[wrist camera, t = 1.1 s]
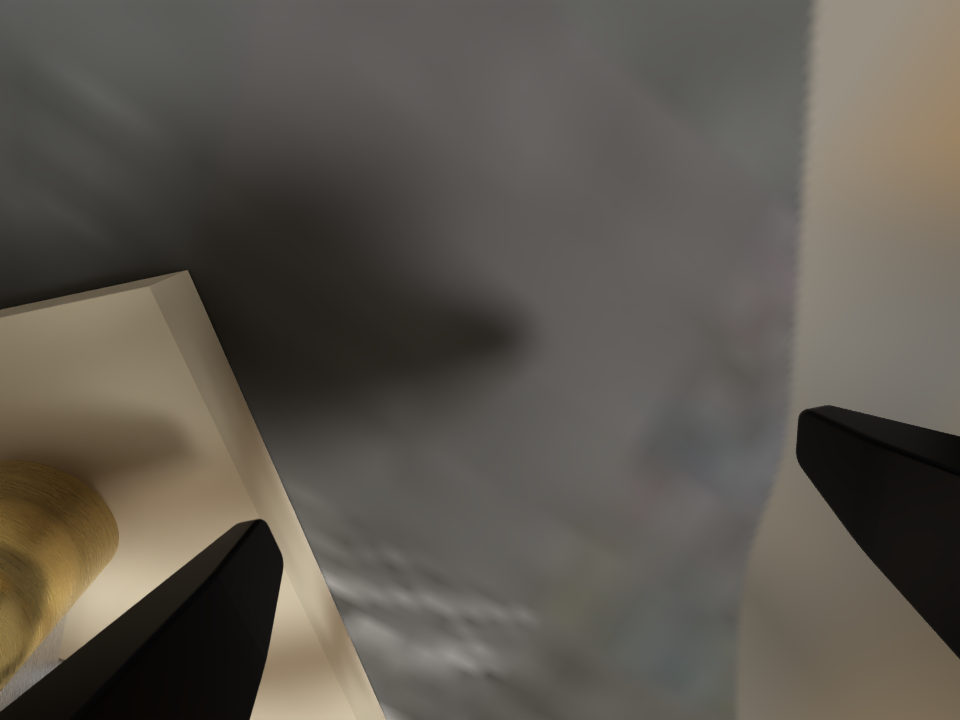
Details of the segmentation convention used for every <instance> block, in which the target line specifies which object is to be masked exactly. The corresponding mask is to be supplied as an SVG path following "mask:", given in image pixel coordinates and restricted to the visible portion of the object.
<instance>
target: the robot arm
mask: <svg viewBox="0 0 960 720" xmlns="http://www.w3.org/2000/svg"><path fill="white" fill-rule="evenodd" d="M796 455H797V459H798V462H799V464H800V466H801V468H802V469H803V471H804V472H805V473H806V475H807V476H808V478H809V479H810V480H811V481H812V483H813V484H814V486H815V487H816V488H817V490H818V491H819V492H820V494H821V495H822V497H823V498H824V499H825V501H826V502H827V503H828V505H829V506H830V507H831V509H832V510H833V511H834V513H835V514H836V515H837V517H838V518H839V520H840V521H841V522H842V524H843V525H844V527H845V528H846V529H847V531H848V532H849V533H850V535H851V536H852V537H853V538H854V540H855V541H856V542H857V544H858V545H859V546H860V547H861V549H862V550H863V551H864V552H865V553H866V554H867V556H868V557H869V558H870V559H871V560H872V561H873V563H874V564H875V565H876V566H877V567H878V568H879V569H880V570H881V571H882V573H883V574H884V575H885V576H886V577H887V578H888V579H889V580H890V581H891V583H892V584H893V585H894V586H895V587H896V588H897V589H898V590H899V591H900V593H901V594H902V595H903V596H904V597H905V598H906V600H907V601H908V602H909V603H910V604H911V605H912V606H913V607H914V608H915V610H916V611H917V612H918V613H919V614H920V615H921V616H922V617H923V619H924V620H925V621H926V622H927V623H928V624H929V625H930V626H931V627H932V629H933V630H934V631H935V632H936V633H937V634H938V635H939V636H940V638H941V639H942V640H943V641H944V642H945V643H946V644H947V645H948V646H949V648H950V649H951V650H952V651H953V652H954V653H955V654H956V656H957V657H958V658H959V659H960V436H956V435H952V434H948V433H944V432H939V431H935V430H931V429H927V428H923V427H919V426H914V425H910V424H906V423H902V422H898V421H894V420H889V419H885V418H881V417H877V416H873V415H869V414H864V413H860V412H856V411H852V410H848V409H843V408H840V407H835V406H830V405H826V406H820V407H815V408H811V409H806V410H804V411H802V412H801V413H800V415H799V418H798V431H797V444H796ZM283 568H284V562H283V556H282V553H281V551H280V549H279V547H278V545H277V542H276V540H275V538H274V536H273V534H272V532H271V530H270V528H269V526H268V524H267V522H266V521H264V520H263V519H255V520H250V521H244V522H240V523H237V524H236V525H234V526H233V527H232V528H230V529H229V530H228V531H227V532H225V533H224V534H223V535H222V536H220V537H219V538H218V539H216V540H215V541H214V542H213V543H211V544H210V545H209V546H208V547H206V548H205V549H204V550H203V551H201V552H200V553H199V554H198V555H196V556H195V557H194V558H193V559H191V560H190V561H189V562H188V563H186V564H185V565H184V566H183V567H181V568H180V569H179V570H178V571H176V572H175V573H174V574H172V575H171V576H170V577H169V578H167V579H166V580H165V581H164V582H162V583H161V584H160V585H159V586H157V587H156V588H155V589H154V590H152V591H151V592H150V593H149V594H147V595H146V596H145V597H144V598H142V599H141V600H140V601H139V602H137V603H136V604H135V605H133V606H132V607H131V608H130V609H128V610H127V611H126V612H125V613H123V614H122V615H121V616H120V617H118V618H117V619H116V620H115V621H113V622H112V623H111V624H110V625H108V626H107V627H106V628H105V629H103V630H102V631H101V632H100V633H98V634H97V635H96V636H95V637H93V638H92V639H91V640H89V641H88V642H87V643H86V644H84V645H83V646H82V647H81V648H79V649H78V650H77V651H76V652H74V653H73V654H72V655H71V656H69V657H68V658H67V659H66V660H64V661H63V662H62V663H61V664H59V665H58V666H57V667H56V668H54V669H53V670H52V671H50V672H49V673H48V674H47V675H45V676H44V677H43V678H42V679H40V680H39V681H38V682H37V683H35V684H34V685H33V686H32V687H30V688H29V689H28V690H27V691H25V692H24V693H23V694H22V695H20V696H19V697H18V698H17V699H15V700H14V701H13V702H12V703H10V704H9V705H8V706H6V707H5V708H4V709H3V710H1V711H0V720H250V717H251V714H252V710H253V707H254V703H255V700H256V696H257V693H258V689H259V686H260V683H261V679H262V675H263V671H264V668H265V664H266V660H267V655H268V650H269V646H270V640H271V635H272V629H273V624H274V618H275V613H276V607H277V602H278V596H279V591H280V585H281V580H282V574H283Z"/></svg>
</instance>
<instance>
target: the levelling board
mask: <svg viewBox="0 0 960 720" xmlns="http://www.w3.org/2000/svg"><path fill="white" fill-rule="evenodd" d="M2 460H22V461H30V462H35V463H40V464H44V465H47V466H50V467H53V468H56V469H59V470H61V471H63V472H66V473H68V474H70V475H71V476H73V477H75V478H77V479H79V480H80V481H81V482H83V483H84V484H86V485H87V486H89V487H90V488H91V489H92V490H93V491H95V492H96V493H97V494H98V495H99V496H100V497H101V498H102V499H103V501H104V502H105V503H106V504H107V506H108V507H109V509H110V510H111V512H112V514H113V515H114V518H115V520H116V522H117V526H118V530H119V544H118V548H117V551H116V553H115V555H114V557H113V559H112V560H111V561H110V562H109V564H108V565H107V566H106V567H105V568H104V570H103V571H102V572H101V573H100V574H99V575H98V577H97V578H96V579H95V580H94V581H93V583H92V584H91V585H90V586H89V587H88V589H87V590H86V591H85V592H84V593H83V594H82V596H81V597H80V598H79V599H78V600H77V602H76V603H75V604H74V605H73V606H72V607H71V609H70V610H69V611H68V612H67V616H66V621H65V627H64V633H63V638H62V644H61V650H60V655H59V661H58V665H59V664H61V663H62V662H63V661H64V660H66V659H67V658H68V657H69V656H71V655H72V654H73V653H74V652H76V651H77V650H78V649H79V648H81V647H82V646H83V645H84V644H86V643H87V642H88V641H89V640H91V639H92V638H93V637H95V636H96V635H97V634H98V633H100V632H101V631H102V630H103V629H105V628H106V627H107V626H108V625H110V624H111V623H112V622H113V621H115V620H116V619H117V618H118V617H120V616H121V615H122V614H123V613H125V612H126V611H127V610H128V609H130V608H131V607H132V606H133V605H135V604H136V603H137V602H139V601H140V600H141V599H142V598H144V597H145V596H146V595H147V594H149V593H150V592H151V591H152V590H154V589H155V588H156V587H157V586H159V585H160V584H161V583H162V582H164V581H165V580H166V579H167V578H169V577H170V576H171V575H172V574H174V573H175V572H176V571H178V570H179V569H180V568H181V567H183V566H184V565H185V564H186V563H188V562H189V561H190V560H191V559H193V558H194V557H195V556H196V555H198V554H199V553H200V552H201V551H203V550H204V549H205V548H206V547H208V546H209V545H210V544H211V543H213V542H214V541H215V540H216V539H218V538H219V537H220V536H222V535H223V534H224V533H225V532H227V531H228V530H229V529H230V528H232V527H233V526H234V525H236V524H237V523H240V522H244V521H250V520H255V519H263V520H264V521H266V522H267V524H268V526H269V528H270V530H271V532H272V534H273V536H274V538H275V540H276V542H277V545H278V547H279V549H280V551H281V553H282V556H283V562H284V568H283V574H282V580H281V585H280V591H279V596H278V602H277V607H276V613H275V618H274V624H273V629H272V635H271V640H270V646H269V650H268V655H267V660H266V664H265V668H264V671H263V675H262V679H261V683H260V686H259V689H258V693H257V696H256V700H255V703H254V707H253V710H252V714H251V717H250V720H386V719H385V716H384V714H383V712H382V710H381V707H380V705H379V703H378V701H377V698H376V696H375V694H374V692H373V689H372V687H371V685H370V682H369V680H368V678H367V676H366V673H365V671H364V669H363V667H362V664H361V662H360V660H359V657H358V655H357V653H356V651H355V648H354V646H353V644H352V642H351V639H350V637H349V635H348V633H347V630H346V628H345V626H344V623H343V621H342V619H341V617H340V614H339V612H338V610H337V608H336V605H335V603H334V601H333V599H332V596H331V594H330V592H329V589H328V587H327V585H326V583H325V580H324V578H323V576H322V574H321V571H320V569H319V567H318V564H317V562H316V560H315V558H314V555H313V553H312V551H311V549H310V546H309V544H308V542H307V540H306V537H305V535H304V533H303V530H302V528H301V526H300V524H299V521H298V519H297V517H296V515H295V512H294V510H293V508H292V505H291V503H290V501H289V499H288V496H287V494H286V492H285V490H284V487H283V485H282V483H281V481H280V478H279V476H278V474H277V471H276V469H275V467H274V465H273V462H272V460H271V458H270V456H269V453H268V451H267V449H266V447H265V444H264V442H263V440H262V437H261V435H260V433H259V431H258V428H257V426H256V424H255V422H254V419H253V417H252V415H251V412H250V410H249V408H248V406H247V403H246V401H245V399H244V397H243V394H242V392H241V390H240V388H239V385H238V383H237V381H236V378H235V376H234V374H233V372H232V369H231V367H230V365H229V363H228V360H227V358H226V356H225V354H224V351H223V349H222V347H221V344H220V342H219V340H218V338H217V335H216V333H215V331H214V329H213V326H212V324H211V322H210V319H209V317H208V315H207V313H206V310H205V308H204V306H203V304H202V301H201V299H200V297H199V295H198V292H197V290H196V288H195V285H194V283H193V281H192V279H191V276H190V274H189V272H188V270H185V271H180V272H175V273H171V274H166V275H161V276H157V277H152V278H147V279H142V280H138V281H133V282H128V283H124V284H119V285H114V286H110V287H105V288H100V289H95V290H91V291H86V292H81V293H77V294H72V295H67V296H63V297H58V298H53V299H48V300H44V301H39V302H34V303H30V304H25V305H20V306H16V307H11V308H6V309H1V310H0V461H2Z"/></svg>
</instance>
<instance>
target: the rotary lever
mask: <svg viewBox="0 0 960 720" xmlns="http://www.w3.org/2000/svg"><path fill="white" fill-rule="evenodd" d="M118 544H119V530H118V526H117V522H116V520H115V518H114V515H113V514H112V512H111V510H110V509H109V507H108V506H107V504H106V503H105V502H104V501H103V499H102V498H101V497H100V496H99V495H98V494H97V493H96V492H95V491H93V490H92V489H91V488H90V487H89V486H87V485H86V484H84V483H83V482H81V481H80V480H79V479H77V478H75V477H73V476H71V475H70V474H68V473H66V472H63V471H61V470H59V469H56V468H53V467H50V466H47V465H44V464H40V463H35V462H30V461H22V460H2V461H0V711H1V710H3V709H4V708H5V707H6V706H8V705H9V704H10V703H12V702H13V701H14V700H15V699H17V698H18V697H19V696H20V695H22V694H23V693H24V692H25V691H27V690H28V689H29V688H30V687H32V686H33V685H34V684H35V683H37V682H38V681H39V680H40V679H42V678H43V677H44V676H45V675H47V674H48V673H49V672H50V671H52V670H53V669H54V668H56V667H57V666H58V661H59V655H60V650H61V644H62V638H63V633H64V627H65V621H66V616H67V612H68V611H69V610H70V609H71V607H72V606H73V605H74V604H75V603H76V602H77V600H78V599H79V598H80V597H81V596H82V594H83V593H84V592H85V591H86V590H87V589H88V587H89V586H90V585H91V584H92V583H93V581H94V580H95V579H96V578H97V577H98V575H99V574H100V573H101V572H102V571H103V570H104V568H105V567H106V566H107V565H108V564H109V562H110V561H111V560H112V559H113V557H114V555H115V553H116V551H117V548H118Z"/></svg>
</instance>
